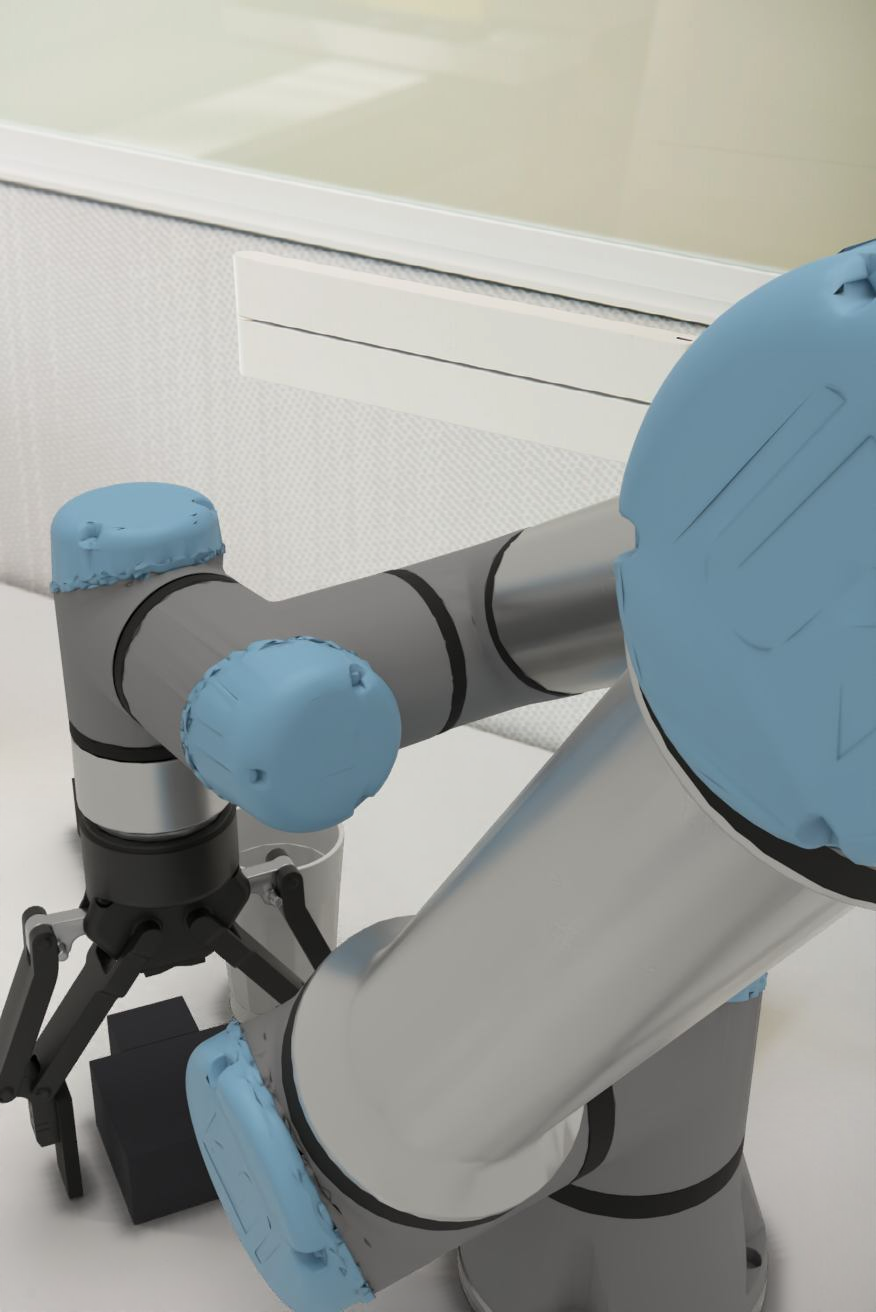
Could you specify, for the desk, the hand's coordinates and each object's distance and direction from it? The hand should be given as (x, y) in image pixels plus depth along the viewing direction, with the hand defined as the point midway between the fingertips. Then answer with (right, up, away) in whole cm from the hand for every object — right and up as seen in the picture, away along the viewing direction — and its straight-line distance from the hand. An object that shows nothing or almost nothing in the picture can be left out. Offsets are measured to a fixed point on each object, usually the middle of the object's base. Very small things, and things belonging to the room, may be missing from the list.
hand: (185, 1145), depth 88 cm
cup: (+4, +5, +12) cm, 13 cm away
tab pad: (-1, 0, +1) cm, 2 cm away
